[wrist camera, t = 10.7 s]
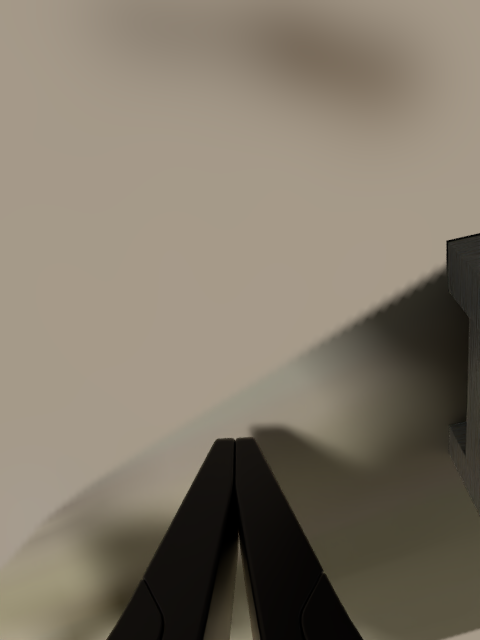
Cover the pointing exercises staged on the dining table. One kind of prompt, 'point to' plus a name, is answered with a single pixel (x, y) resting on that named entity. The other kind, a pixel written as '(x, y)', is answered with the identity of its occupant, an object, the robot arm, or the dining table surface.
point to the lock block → (476, 300)
